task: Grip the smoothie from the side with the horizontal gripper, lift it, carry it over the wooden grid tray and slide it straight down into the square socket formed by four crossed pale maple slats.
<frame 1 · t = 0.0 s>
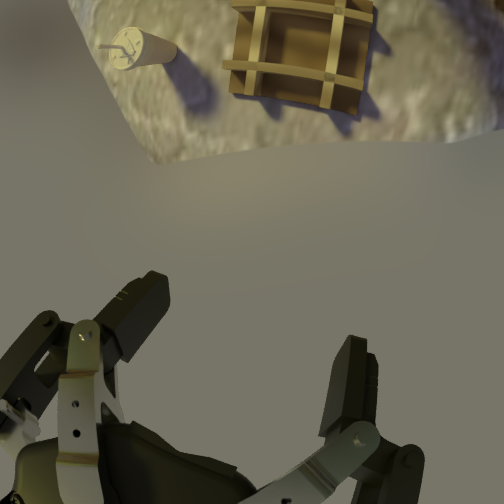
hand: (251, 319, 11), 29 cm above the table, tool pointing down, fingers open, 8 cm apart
wooden grid tray: (300, 42, 26), on the table
smoothie: (168, 52, 32), on the table
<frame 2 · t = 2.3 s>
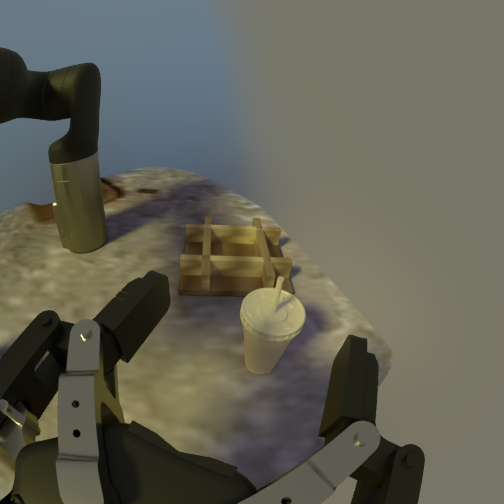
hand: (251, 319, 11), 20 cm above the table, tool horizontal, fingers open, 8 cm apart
wooden grid tray: (233, 261, 47), on the table
smoothie: (259, 362, 31), on the table
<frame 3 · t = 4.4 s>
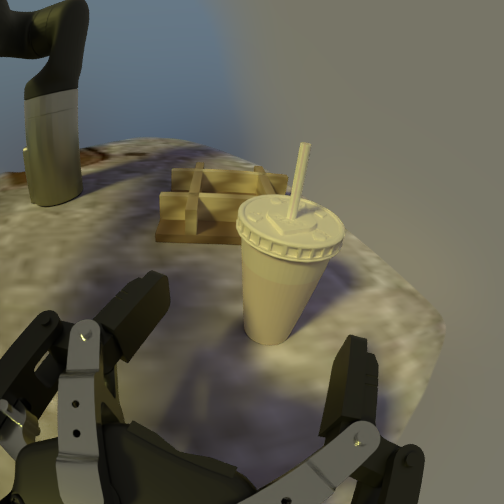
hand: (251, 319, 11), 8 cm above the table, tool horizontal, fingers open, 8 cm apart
wooden grid tray: (229, 209, 37), on the table
smoothie: (266, 328, 21), on the table
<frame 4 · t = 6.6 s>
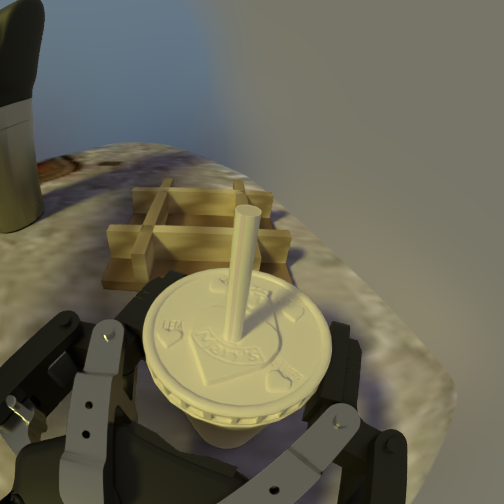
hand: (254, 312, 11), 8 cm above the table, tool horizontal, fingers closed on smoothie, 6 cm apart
wooden grid tray: (199, 239, 30), on the table
smoothie: (225, 422, 14), on the table, touching gripper
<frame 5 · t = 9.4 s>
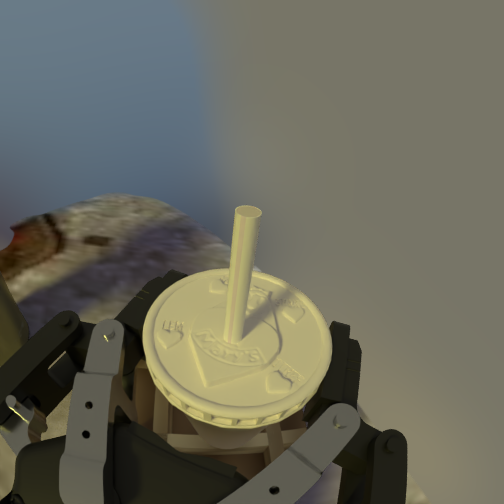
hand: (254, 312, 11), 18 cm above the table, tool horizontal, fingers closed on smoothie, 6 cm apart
wooden grid tray: (214, 409, 23), on the table
smoothie: (225, 423, 14), point 10 cm above the table, touching gripper
when the fingers open (10 cm above the table, at t = 12.3 s): smoothie drops 1 cm, resting on wooden grid tray.
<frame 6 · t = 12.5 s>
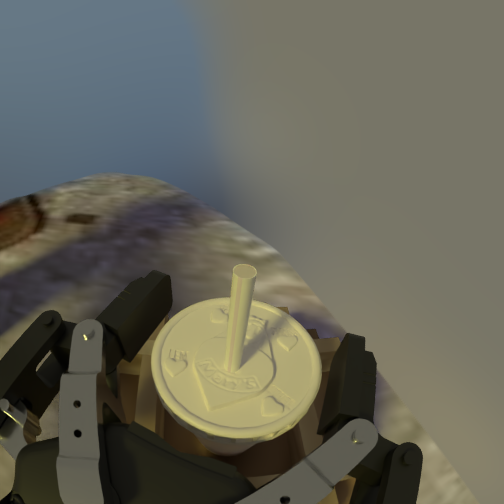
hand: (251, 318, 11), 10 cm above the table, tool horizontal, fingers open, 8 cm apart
wooden grid tray: (224, 432, 15), on the table
smoothie: (226, 432, 15), point 1 cm above the table, touching wooden grid tray
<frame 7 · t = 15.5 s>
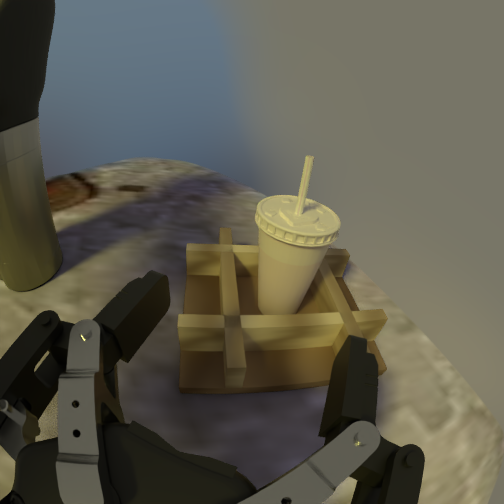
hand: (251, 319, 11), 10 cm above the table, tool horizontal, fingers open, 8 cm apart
wooden grid tray: (274, 311, 26), on the table
smoothie: (277, 307, 25), point 1 cm above the table, touching wooden grid tray
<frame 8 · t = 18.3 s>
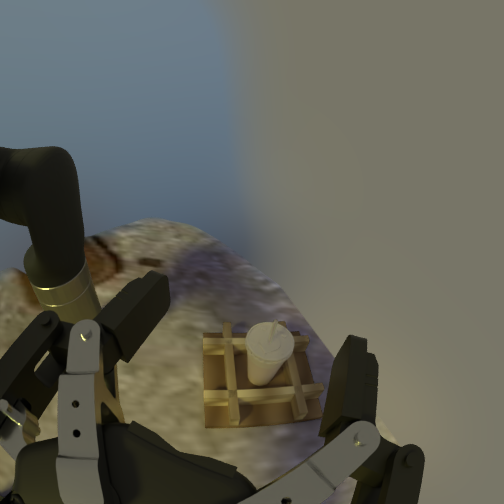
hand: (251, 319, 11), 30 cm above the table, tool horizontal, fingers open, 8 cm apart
wooden grid tray: (258, 377, 40), on the table
smoothie: (259, 376, 39), point 1 cm above the table, touching wooden grid tray
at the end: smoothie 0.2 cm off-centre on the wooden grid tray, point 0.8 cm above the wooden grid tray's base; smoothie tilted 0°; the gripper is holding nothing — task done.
